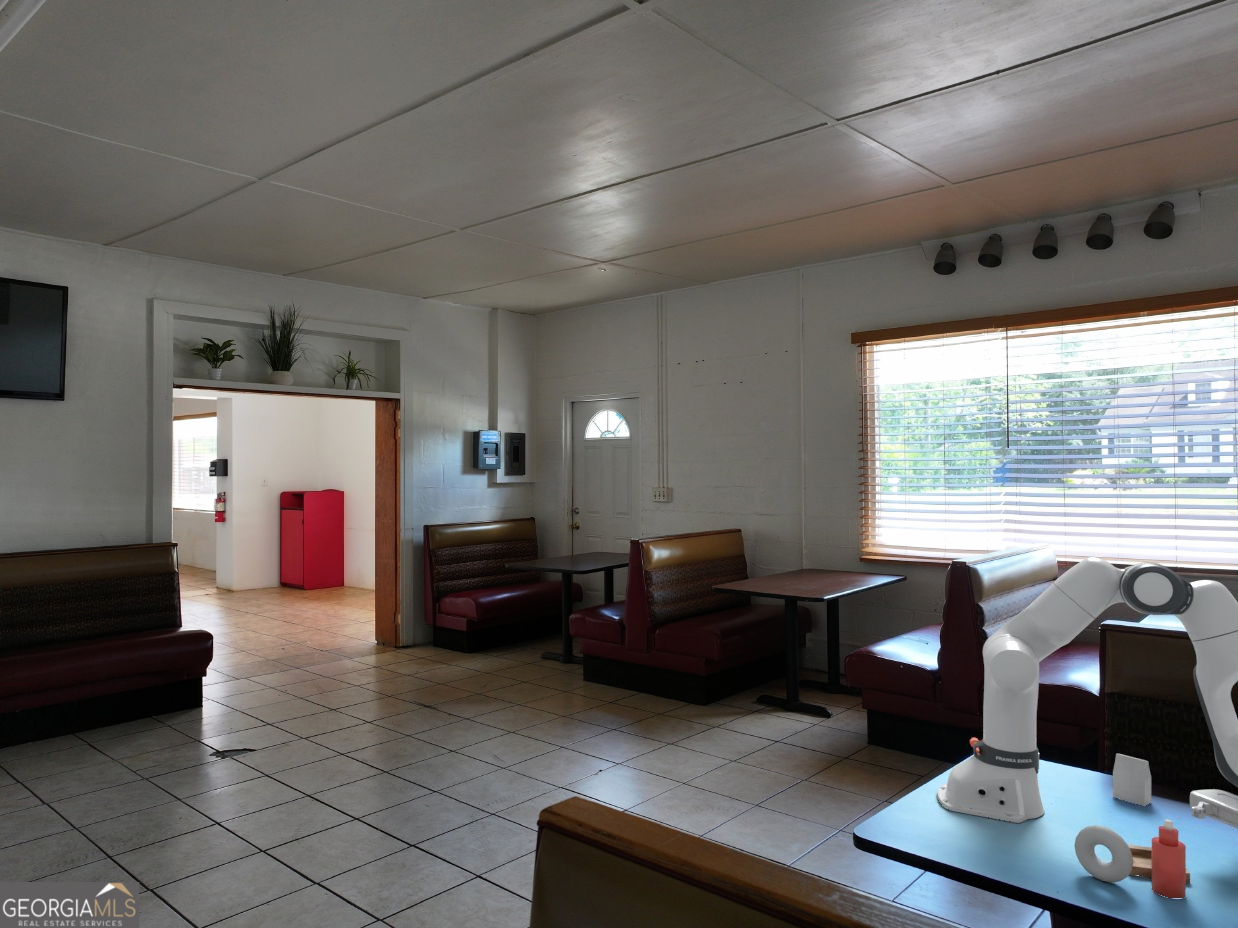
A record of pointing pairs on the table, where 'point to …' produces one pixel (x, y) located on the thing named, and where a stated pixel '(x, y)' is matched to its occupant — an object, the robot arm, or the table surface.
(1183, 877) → the ketchup bottle
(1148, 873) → the condiment tray
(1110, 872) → the donut
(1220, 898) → the table surface
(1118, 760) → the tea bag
